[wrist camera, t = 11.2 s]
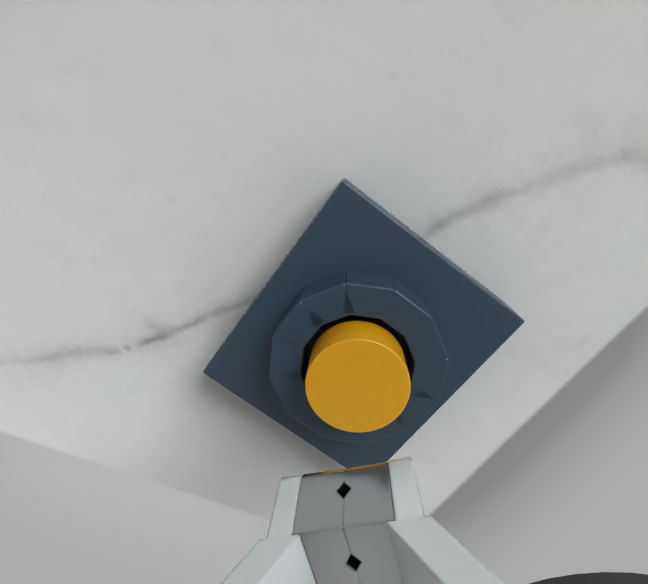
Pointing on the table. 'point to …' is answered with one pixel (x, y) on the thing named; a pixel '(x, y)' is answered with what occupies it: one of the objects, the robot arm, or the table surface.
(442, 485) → the table surface
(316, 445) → the button housing
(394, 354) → the trigger button
